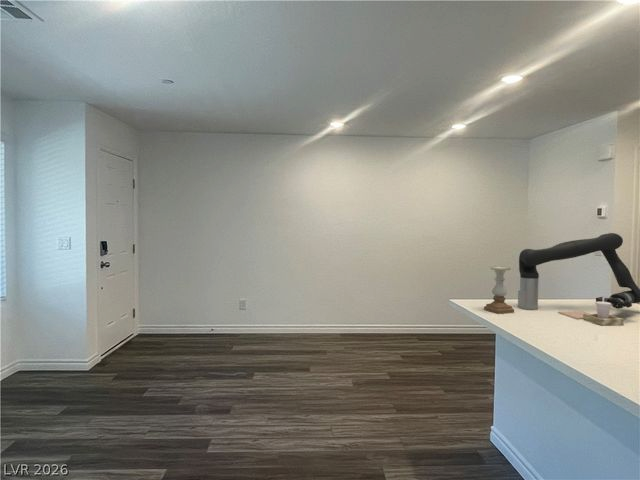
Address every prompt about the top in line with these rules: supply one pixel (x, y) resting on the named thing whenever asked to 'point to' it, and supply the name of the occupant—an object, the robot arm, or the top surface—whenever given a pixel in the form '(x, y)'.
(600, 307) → the smoothie
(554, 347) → the top surface
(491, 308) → the candle holder
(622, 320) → the square wooden tray
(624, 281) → the robot arm
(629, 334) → the top surface
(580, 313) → the tile
